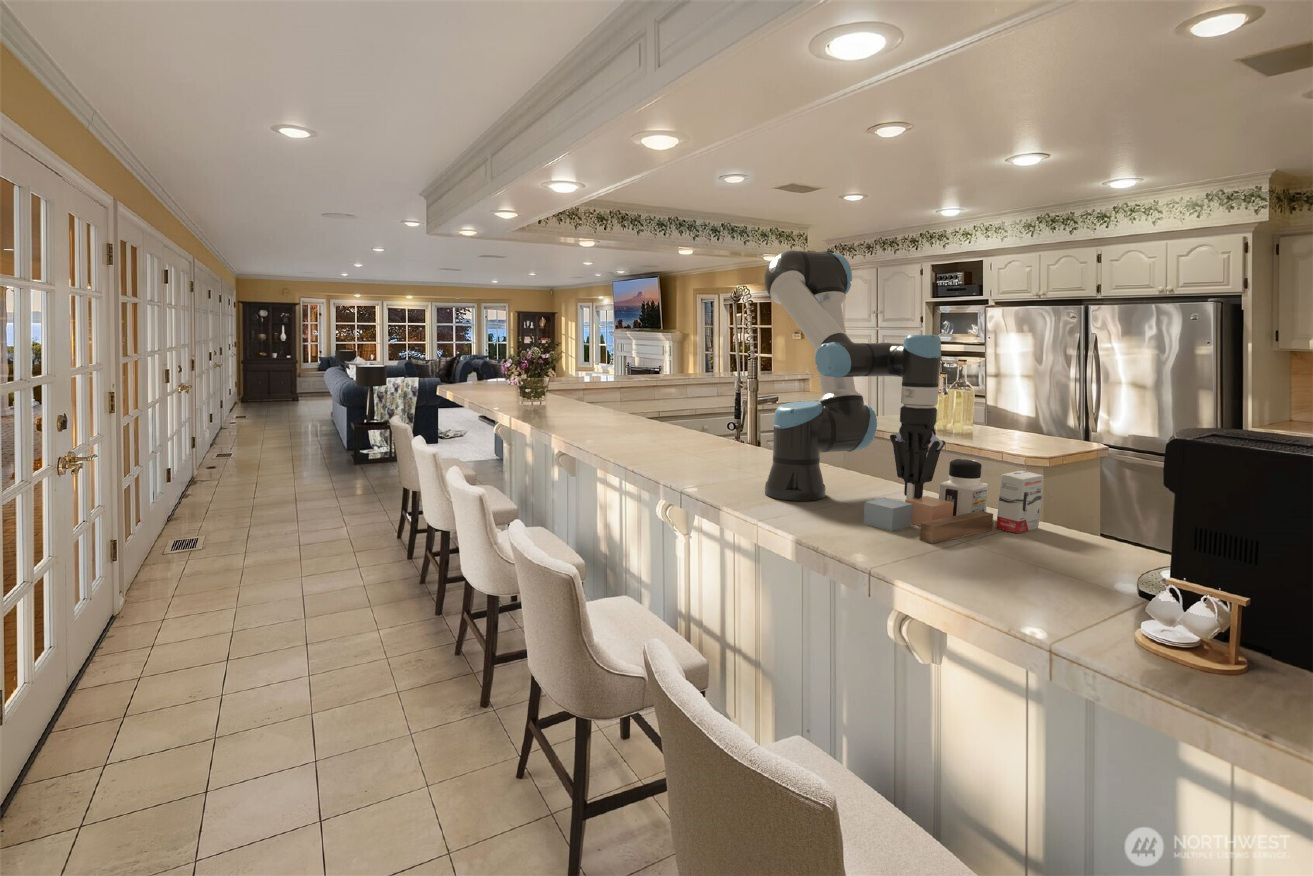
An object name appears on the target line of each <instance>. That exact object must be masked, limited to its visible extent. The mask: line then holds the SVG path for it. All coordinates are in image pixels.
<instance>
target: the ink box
mask: <svg viewBox="0 0 1313 876" xmlns="http://www.w3.org/2000/svg"><path fill="white" fill-rule="evenodd" d="M1000 476H1001V477H1000V484H999V485H1000V486H999V495H998V496H999V497H998V505H997V506H998V507H997V515H996V516H997V518H996V526H995V528H996V529H999V530H1003V531H1007V532H1011V533H1014V534H1021V533H1024V532H1028V531H1033V530H1036V529H1038V528H1039V525H1040V524H1039V522H1040V515H1041V514H1040V513H1041V506H1042V496H1043V488H1044V478H1045V475H1043V474H1038V473H1034V472H1029V471H1027V470H1026V471H1025V470H1017V471H1013V472H1007V473H1002V474H1001V475H1000Z"/></svg>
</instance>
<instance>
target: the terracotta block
mask: <svg viewBox="0 0 1313 876" xmlns="http://www.w3.org/2000/svg"><path fill="white" fill-rule="evenodd" d="M904 502H906V503H911V504H912V518H911V525H915V526H919V527H920V525H921V523H923V522H928V521H932V520H937V519H942V518H947V517H952V516H953V506H954V502H950V501H946V500H941V499H939V498H936V497H933V496H928V495H923V496H922V498H911V499H905V501H904Z"/></svg>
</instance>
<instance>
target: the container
mask: <svg viewBox="0 0 1313 876" xmlns="http://www.w3.org/2000/svg"><path fill="white" fill-rule="evenodd" d="M948 468H949V469H948V479H949V480H947V481H943V482H940V483H939V488H938V499H941V500H946V501H950V502H954V506H953V516H957V515H961V514H966V513H971V512H976V511H984V512H987V508H988V507H987V504H988V496H989V495H988V494H989V484H988V483H986V482H985V483H984V482H981V479H982V478H981V476H982V464H981V462H979V461H978V460H974V459H970V458H956V459H952V460H951V461H949V467H948Z"/></svg>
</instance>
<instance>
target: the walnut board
mask: <svg viewBox="0 0 1313 876" xmlns="http://www.w3.org/2000/svg"><path fill="white" fill-rule="evenodd" d="M993 520H994V513H992V512H988V511H986V512H984V511H976V512H971V513H966V514H961V515H957V516H952V517H947V518H942V519H937V520H932V521H928V522H923V523H921V525H920V526H919V527H920V528H919V541H922V542H925V543H929V544H932V545H933V544H936V543H941V542H946V541H950V540H955V539H958V538H963V537H967V536H971V535H976V534H980V533H983V532H984V533H985V532H989V531H992V530H993V522H994V521H993Z"/></svg>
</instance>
